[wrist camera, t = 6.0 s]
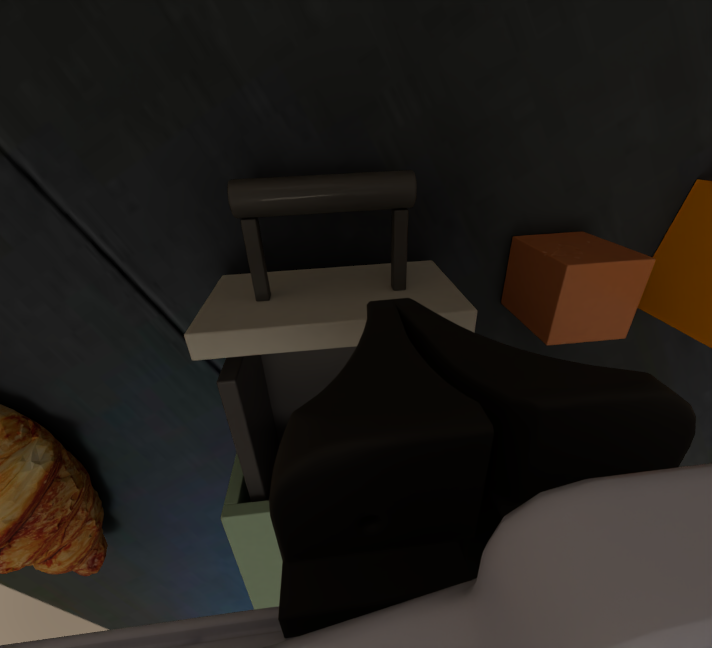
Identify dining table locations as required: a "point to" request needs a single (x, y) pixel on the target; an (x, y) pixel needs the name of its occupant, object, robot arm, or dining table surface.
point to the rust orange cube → (574, 286)
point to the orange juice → (685, 269)
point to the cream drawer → (304, 308)
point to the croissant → (45, 503)
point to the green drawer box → (252, 541)
